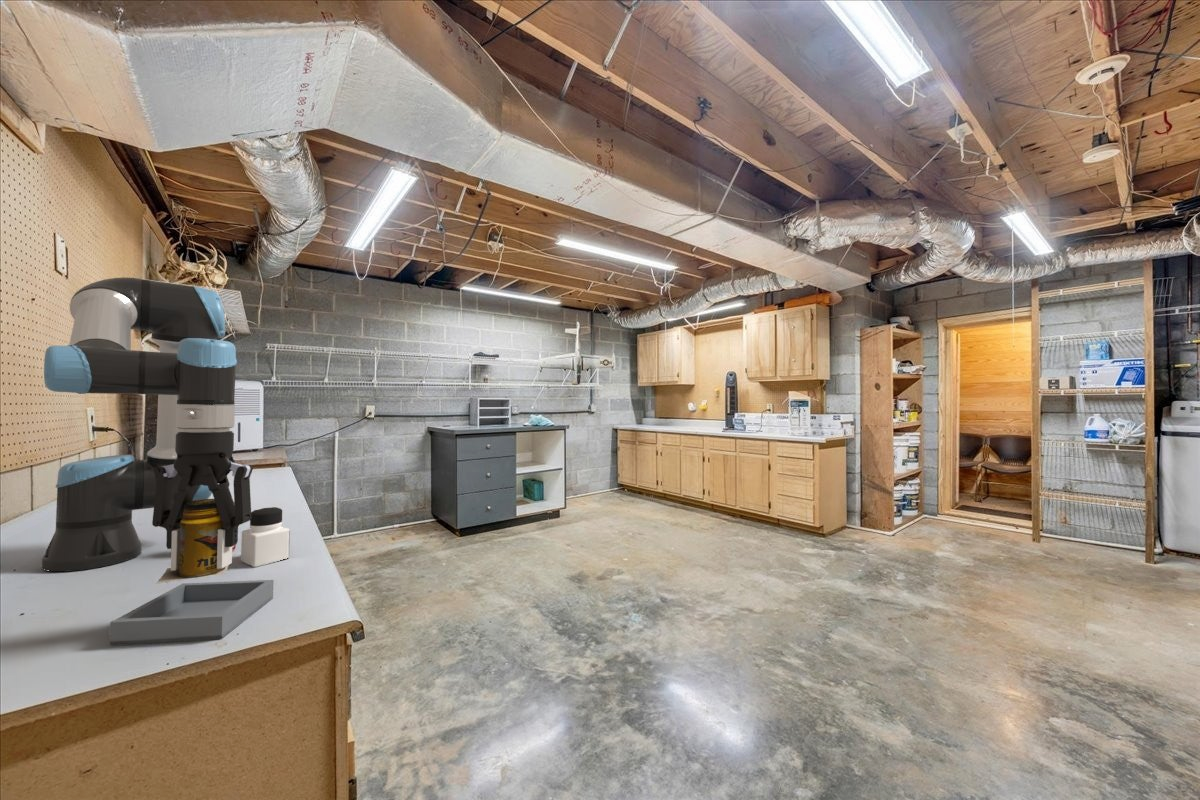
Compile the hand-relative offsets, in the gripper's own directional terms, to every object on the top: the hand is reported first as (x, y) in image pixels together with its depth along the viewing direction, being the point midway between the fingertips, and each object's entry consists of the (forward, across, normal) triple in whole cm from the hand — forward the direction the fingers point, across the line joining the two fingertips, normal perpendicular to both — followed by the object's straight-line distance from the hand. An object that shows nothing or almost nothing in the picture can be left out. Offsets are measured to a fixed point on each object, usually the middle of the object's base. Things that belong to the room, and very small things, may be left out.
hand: (202, 566), depth 77 cm
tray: (+9, 0, 0) cm, 9 cm away
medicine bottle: (+9, -5, +30) cm, 32 cm away
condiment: (+1, -1, 0) cm, 1 cm away
